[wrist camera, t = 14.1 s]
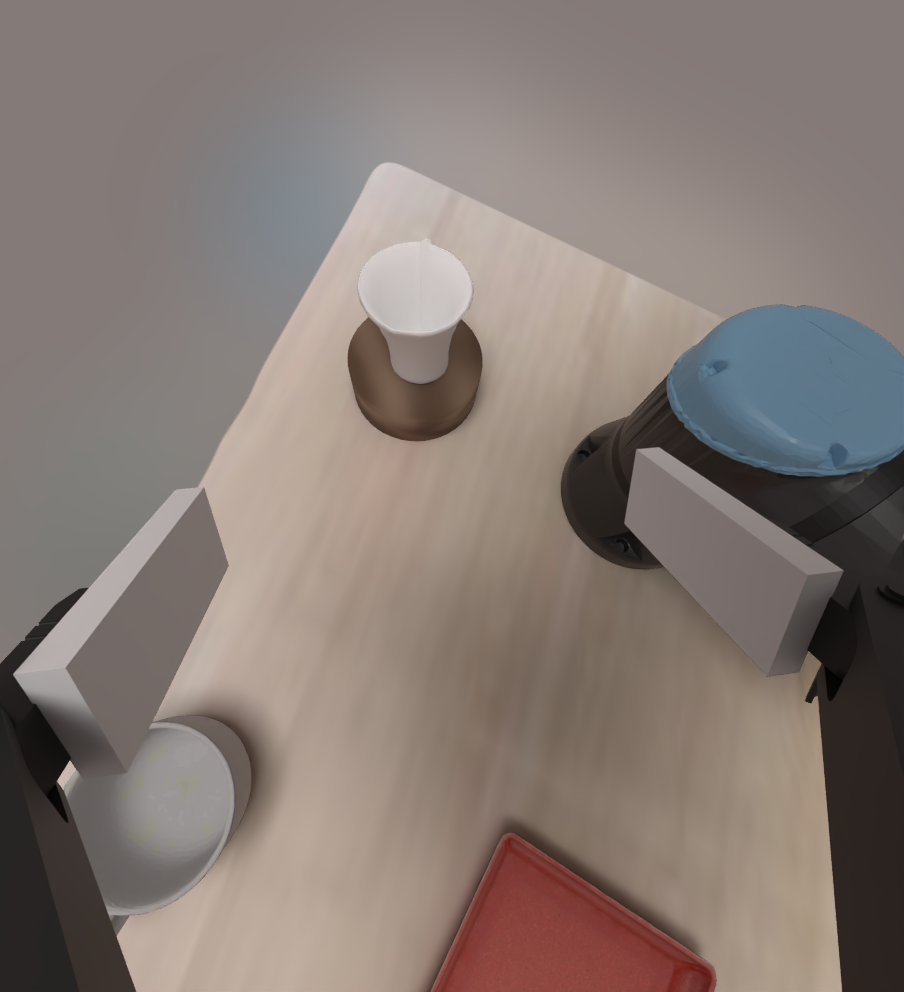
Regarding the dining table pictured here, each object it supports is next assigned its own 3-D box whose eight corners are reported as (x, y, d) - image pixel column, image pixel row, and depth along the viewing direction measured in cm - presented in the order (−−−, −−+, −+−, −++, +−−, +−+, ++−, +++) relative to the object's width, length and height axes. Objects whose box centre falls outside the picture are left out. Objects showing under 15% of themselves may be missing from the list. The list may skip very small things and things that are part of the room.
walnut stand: (455, 323, 52) (459, 291, 47) (492, 424, 49) (500, 400, 44) (341, 347, 50) (334, 316, 45) (371, 454, 46) (366, 432, 42)
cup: (471, 330, 46) (485, 248, 36) (450, 410, 43) (459, 344, 34) (384, 309, 46) (376, 222, 36) (358, 388, 43) (341, 316, 34)
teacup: (188, 682, 39) (133, 691, 31) (295, 751, 38) (265, 778, 30) (64, 854, 35) (-34, 913, 27) (181, 938, 34) (113, 1023, 26)
